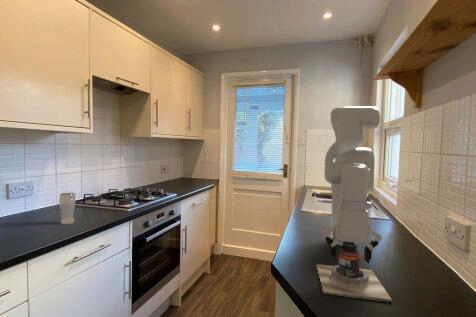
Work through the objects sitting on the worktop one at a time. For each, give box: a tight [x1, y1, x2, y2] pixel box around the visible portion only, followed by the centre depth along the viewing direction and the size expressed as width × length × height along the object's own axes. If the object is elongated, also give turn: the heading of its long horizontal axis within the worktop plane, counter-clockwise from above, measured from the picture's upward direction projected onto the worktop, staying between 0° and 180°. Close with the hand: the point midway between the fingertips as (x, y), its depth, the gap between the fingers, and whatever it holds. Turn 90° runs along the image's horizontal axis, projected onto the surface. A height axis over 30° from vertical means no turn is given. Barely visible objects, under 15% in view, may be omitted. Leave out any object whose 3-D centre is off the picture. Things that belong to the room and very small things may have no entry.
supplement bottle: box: [338, 242, 361, 278], centre depth 84 cm, size 6×6×11 cm
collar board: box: [316, 264, 393, 302], centre depth 84 cm, size 18×18×4 cm
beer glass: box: [58, 192, 76, 225], centre depth 138 cm, size 7×7×15 cm
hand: (350, 259), depth 84 cm, fingers open, 9 cm apart
